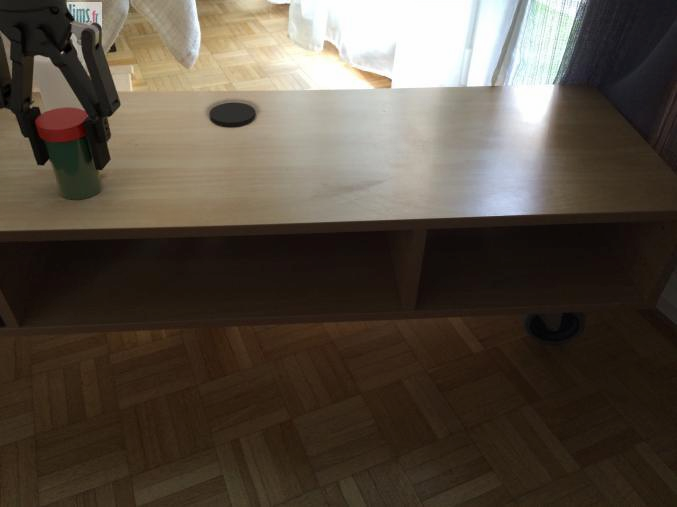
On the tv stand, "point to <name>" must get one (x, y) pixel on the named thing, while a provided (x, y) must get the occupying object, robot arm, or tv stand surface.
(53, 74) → the can
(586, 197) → the tv stand surface
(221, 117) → the coaster
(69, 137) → the jar lid
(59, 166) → the jar
